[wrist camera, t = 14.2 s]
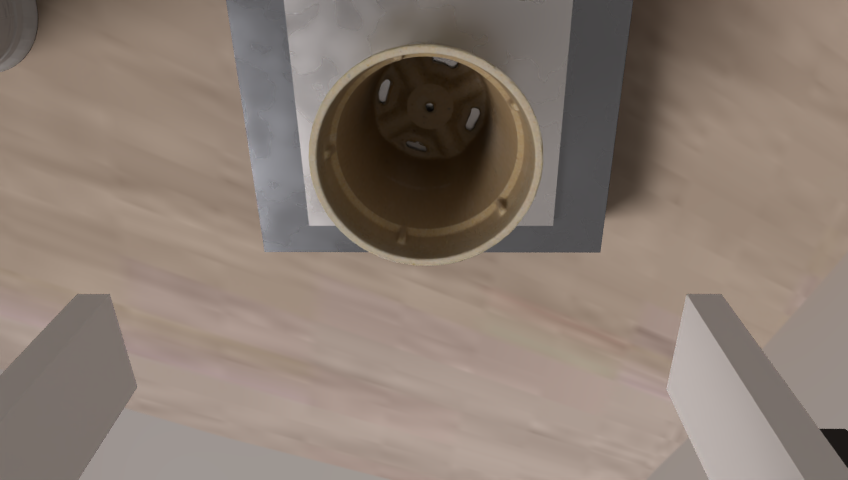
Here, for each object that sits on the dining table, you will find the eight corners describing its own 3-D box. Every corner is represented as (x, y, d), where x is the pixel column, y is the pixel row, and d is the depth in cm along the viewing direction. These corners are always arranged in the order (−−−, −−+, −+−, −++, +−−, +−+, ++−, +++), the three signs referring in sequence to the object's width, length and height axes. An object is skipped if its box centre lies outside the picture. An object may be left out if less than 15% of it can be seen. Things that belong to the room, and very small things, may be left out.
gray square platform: (280, 222, 41) (262, 255, 37) (238, -86, 33) (209, -86, 29) (586, 222, 40) (602, 256, 36) (623, -93, 32) (648, -94, 28)
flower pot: (524, 181, 34) (546, 258, 27) (356, 196, 35) (330, 275, 28) (517, 1, 30) (541, 31, 23) (325, 22, 31) (285, 58, 23)
